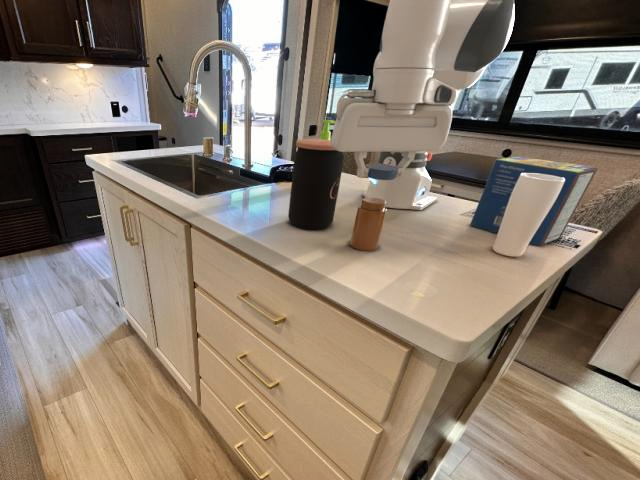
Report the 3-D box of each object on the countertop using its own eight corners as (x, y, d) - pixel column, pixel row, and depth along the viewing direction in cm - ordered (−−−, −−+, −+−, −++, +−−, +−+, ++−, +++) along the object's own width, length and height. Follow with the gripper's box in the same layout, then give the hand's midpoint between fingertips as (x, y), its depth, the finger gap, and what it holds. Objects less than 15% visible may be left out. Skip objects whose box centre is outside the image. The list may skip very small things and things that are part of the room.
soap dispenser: (316, 187, 114) (326, 120, 104) (306, 182, 120) (314, 119, 109) (331, 186, 116) (342, 120, 105) (321, 182, 121) (330, 119, 111)
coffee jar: (332, 233, 76) (348, 146, 67) (285, 228, 78) (294, 143, 69) (331, 218, 85) (345, 140, 76) (289, 215, 87) (297, 138, 78)
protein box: (490, 219, 88) (517, 156, 80) (560, 239, 77) (600, 167, 69) (468, 225, 84) (494, 158, 76) (539, 247, 73) (579, 171, 64)
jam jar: (360, 239, 74) (370, 195, 69) (382, 247, 70) (394, 201, 65) (344, 244, 71) (353, 199, 66) (366, 252, 67) (378, 205, 62)
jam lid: (371, 180, 61) (373, 170, 60) (358, 172, 66) (360, 163, 65) (401, 180, 62) (404, 170, 61) (386, 172, 66) (388, 163, 65)
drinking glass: (511, 246, 72) (546, 173, 64) (534, 259, 67) (576, 181, 59) (480, 245, 72) (511, 172, 64) (500, 259, 66) (538, 179, 59)
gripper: (347, 89, 52) (332, 181, 60) (467, 92, 55) (439, 180, 62) (332, 89, 58) (321, 174, 65) (443, 91, 60) (419, 172, 67)
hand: (379, 177), depth 64 cm, fingers closed on jam lid, 5 cm apart
